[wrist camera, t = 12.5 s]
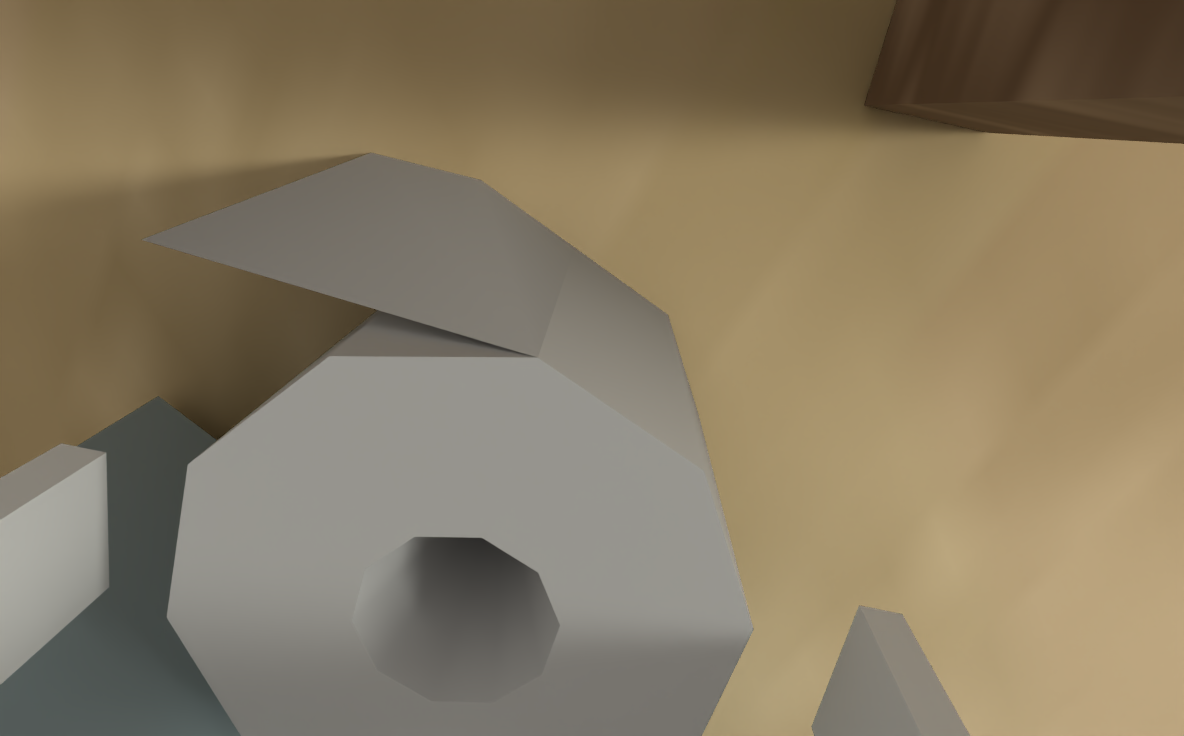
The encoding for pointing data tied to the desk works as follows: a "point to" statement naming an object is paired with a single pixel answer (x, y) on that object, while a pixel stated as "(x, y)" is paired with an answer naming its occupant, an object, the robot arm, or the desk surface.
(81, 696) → the door
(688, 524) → the toilet tissue
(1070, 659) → the desk surface
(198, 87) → the desk surface
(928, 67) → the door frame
